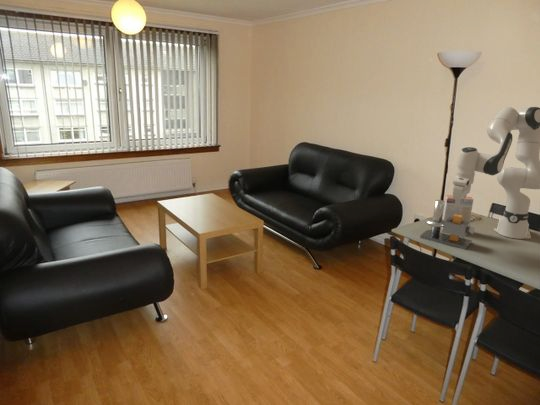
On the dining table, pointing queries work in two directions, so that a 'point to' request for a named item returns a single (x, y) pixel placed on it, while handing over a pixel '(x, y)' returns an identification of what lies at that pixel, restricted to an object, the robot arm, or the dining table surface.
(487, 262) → the dining table surface
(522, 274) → the dining table surface
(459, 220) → the orange rectangular bar
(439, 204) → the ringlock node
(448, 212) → the cracker box
